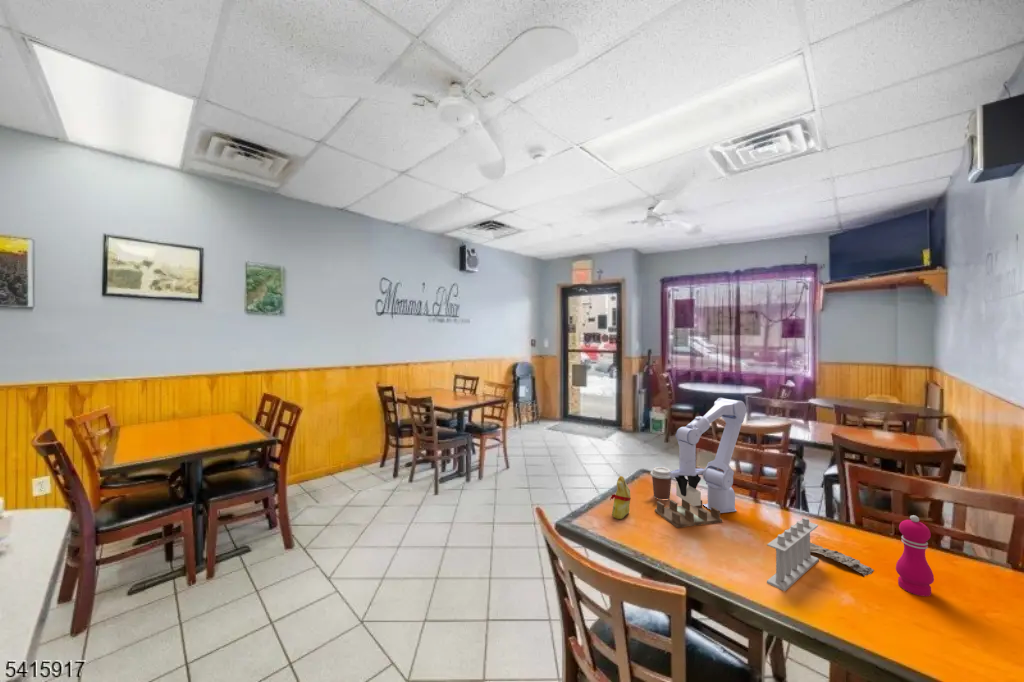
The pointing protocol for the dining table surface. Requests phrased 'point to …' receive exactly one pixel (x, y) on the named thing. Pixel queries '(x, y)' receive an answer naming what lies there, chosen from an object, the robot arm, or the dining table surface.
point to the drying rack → (687, 514)
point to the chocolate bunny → (621, 499)
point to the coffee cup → (661, 482)
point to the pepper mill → (914, 558)
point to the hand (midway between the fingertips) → (687, 494)
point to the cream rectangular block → (690, 495)
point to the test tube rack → (792, 554)
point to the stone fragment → (842, 559)
